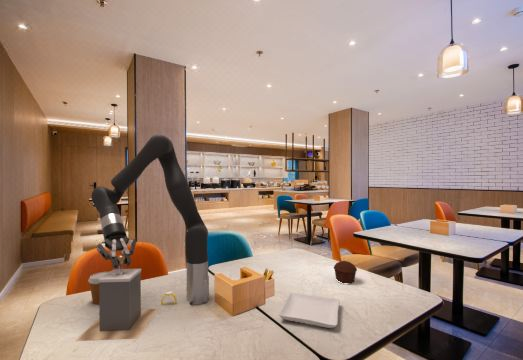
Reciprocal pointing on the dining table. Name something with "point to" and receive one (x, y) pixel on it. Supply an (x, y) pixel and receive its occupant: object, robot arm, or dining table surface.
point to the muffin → (345, 272)
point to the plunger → (121, 263)
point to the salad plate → (311, 310)
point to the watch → (168, 295)
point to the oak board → (133, 333)
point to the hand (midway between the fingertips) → (122, 266)
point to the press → (119, 299)
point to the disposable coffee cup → (95, 286)
